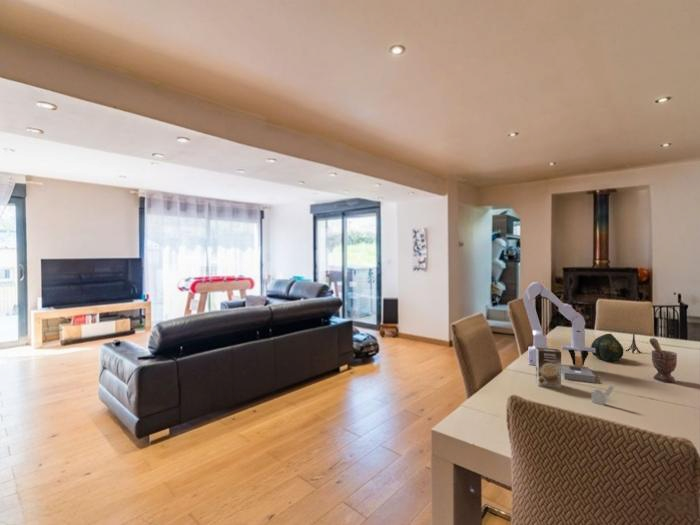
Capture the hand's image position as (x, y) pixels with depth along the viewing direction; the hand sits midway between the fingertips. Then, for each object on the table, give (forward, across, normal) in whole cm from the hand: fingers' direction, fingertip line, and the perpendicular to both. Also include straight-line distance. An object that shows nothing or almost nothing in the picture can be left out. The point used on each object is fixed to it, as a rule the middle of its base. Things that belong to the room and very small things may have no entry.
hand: (578, 365), depth 177 cm
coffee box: (+2, -17, -31) cm, 35 cm away
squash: (+2, +18, +25) cm, 31 cm away
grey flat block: (+2, -3, -13) cm, 13 cm away
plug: (+2, 0, 0) cm, 2 cm away
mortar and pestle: (+2, +32, -6) cm, 33 cm away
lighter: (+2, 0, -46) cm, 46 cm away
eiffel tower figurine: (+3, +37, +48) cm, 61 cm away
